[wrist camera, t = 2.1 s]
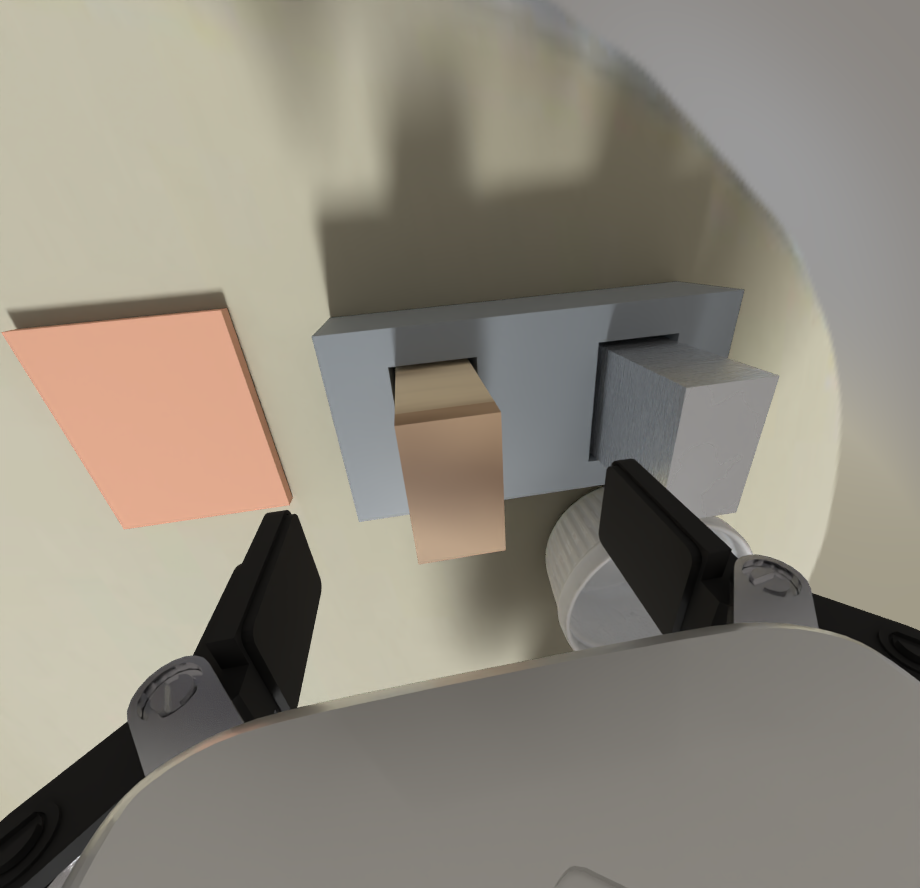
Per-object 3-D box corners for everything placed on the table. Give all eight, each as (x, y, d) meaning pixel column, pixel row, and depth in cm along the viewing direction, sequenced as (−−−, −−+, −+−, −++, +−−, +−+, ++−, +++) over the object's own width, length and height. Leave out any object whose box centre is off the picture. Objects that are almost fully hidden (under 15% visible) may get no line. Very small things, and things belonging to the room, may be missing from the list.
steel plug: (609, 413, 26) (736, 512, 16) (560, 420, 26) (658, 525, 16) (620, 322, 23) (779, 375, 13) (564, 328, 23) (686, 387, 13)
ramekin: (587, 442, 27) (643, 499, 21) (719, 492, 31) (799, 552, 25) (503, 577, 32) (529, 656, 26) (627, 605, 36) (674, 679, 30)
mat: (292, 497, 25) (289, 505, 25) (131, 521, 24) (124, 529, 24) (227, 308, 20) (220, 310, 19) (16, 329, 19) (1, 332, 18)
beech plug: (464, 433, 25) (505, 550, 15) (410, 440, 25) (418, 564, 15) (456, 340, 22) (501, 412, 13) (396, 347, 22) (394, 426, 12)
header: (650, 433, 27) (700, 469, 23) (365, 474, 25) (359, 522, 21) (676, 281, 23) (744, 289, 18) (330, 317, 21) (311, 336, 16)
